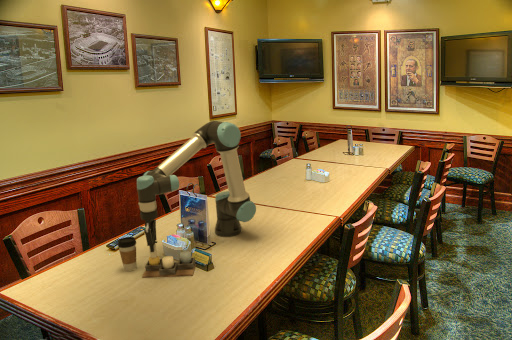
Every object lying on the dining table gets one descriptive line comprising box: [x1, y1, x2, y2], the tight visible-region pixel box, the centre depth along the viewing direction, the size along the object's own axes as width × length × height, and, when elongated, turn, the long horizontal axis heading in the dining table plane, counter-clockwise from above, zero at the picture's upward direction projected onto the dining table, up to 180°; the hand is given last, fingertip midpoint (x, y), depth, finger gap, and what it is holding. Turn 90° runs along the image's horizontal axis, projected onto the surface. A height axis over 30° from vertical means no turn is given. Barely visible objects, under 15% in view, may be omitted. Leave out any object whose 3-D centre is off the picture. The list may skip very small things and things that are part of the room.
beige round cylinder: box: [161, 255, 174, 269], centre depth 203 cm, size 5×5×4 cm
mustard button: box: [148, 255, 161, 265], centre depth 208 cm, size 5×5×4 cm
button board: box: [141, 256, 197, 279], centre depth 206 cm, size 23×13×3 cm, turn 89°
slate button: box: [179, 250, 192, 264], centre depth 207 cm, size 5×5×4 cm
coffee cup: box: [117, 236, 138, 272], centre depth 209 cm, size 8×8×15 cm
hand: (153, 257), depth 207 cm, fingers closed
